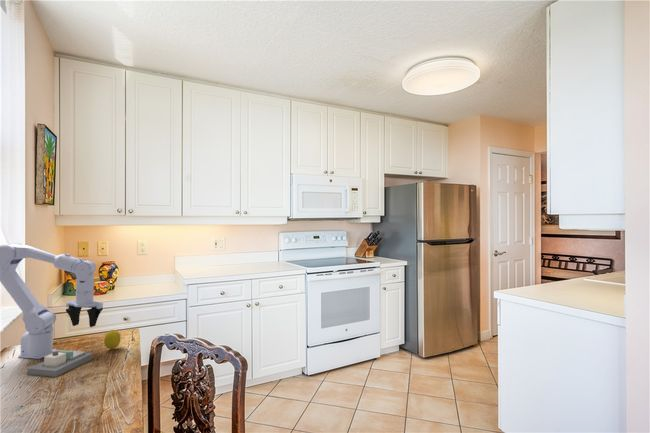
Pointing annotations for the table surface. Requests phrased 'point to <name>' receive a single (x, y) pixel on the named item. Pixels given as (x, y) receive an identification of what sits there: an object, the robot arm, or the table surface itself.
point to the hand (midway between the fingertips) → (84, 325)
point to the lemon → (112, 339)
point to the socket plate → (58, 370)
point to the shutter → (72, 354)
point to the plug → (54, 359)
